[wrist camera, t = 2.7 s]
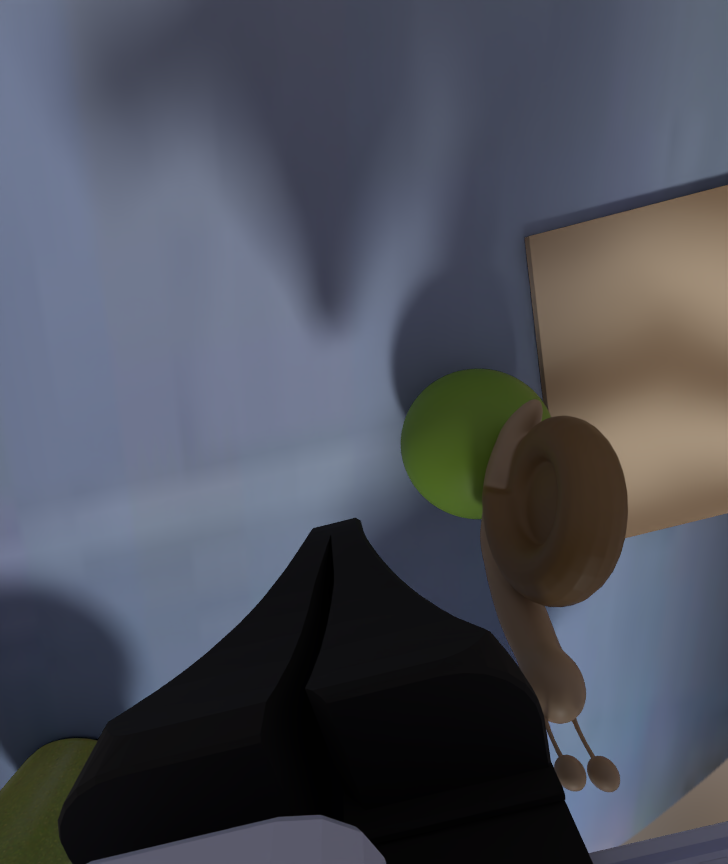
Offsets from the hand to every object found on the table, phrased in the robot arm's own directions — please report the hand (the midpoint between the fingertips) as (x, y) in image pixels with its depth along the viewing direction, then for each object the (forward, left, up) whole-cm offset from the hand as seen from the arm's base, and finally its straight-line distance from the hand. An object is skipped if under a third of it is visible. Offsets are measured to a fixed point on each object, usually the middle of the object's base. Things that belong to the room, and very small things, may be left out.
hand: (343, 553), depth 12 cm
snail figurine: (0, -5, -7) cm, 9 cm away
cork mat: (0, -15, -7) cm, 17 cm away
